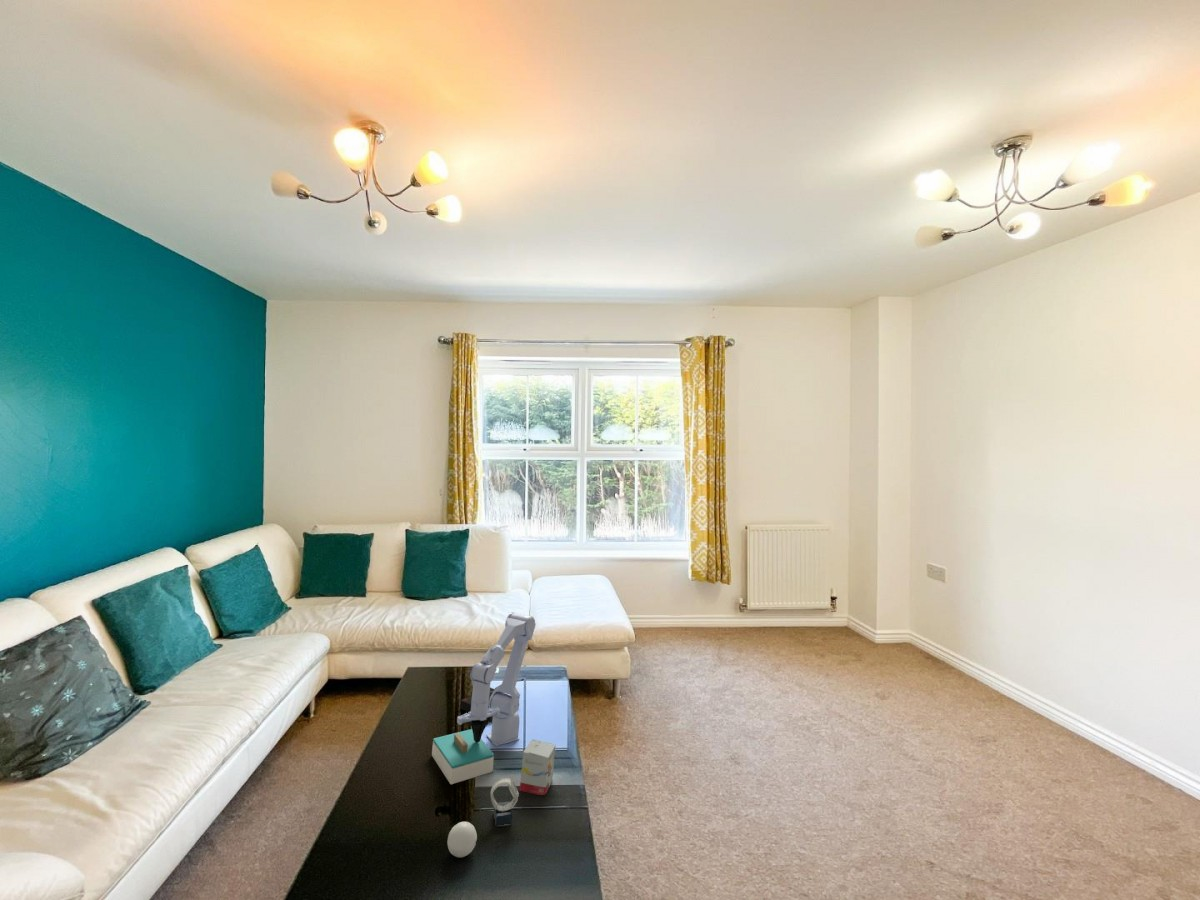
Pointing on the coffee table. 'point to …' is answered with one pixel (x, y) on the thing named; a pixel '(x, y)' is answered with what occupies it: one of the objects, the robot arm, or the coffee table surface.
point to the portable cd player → (467, 702)
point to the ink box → (537, 767)
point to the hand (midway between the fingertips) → (476, 740)
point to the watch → (504, 809)
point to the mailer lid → (462, 748)
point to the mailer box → (461, 767)
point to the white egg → (462, 839)
